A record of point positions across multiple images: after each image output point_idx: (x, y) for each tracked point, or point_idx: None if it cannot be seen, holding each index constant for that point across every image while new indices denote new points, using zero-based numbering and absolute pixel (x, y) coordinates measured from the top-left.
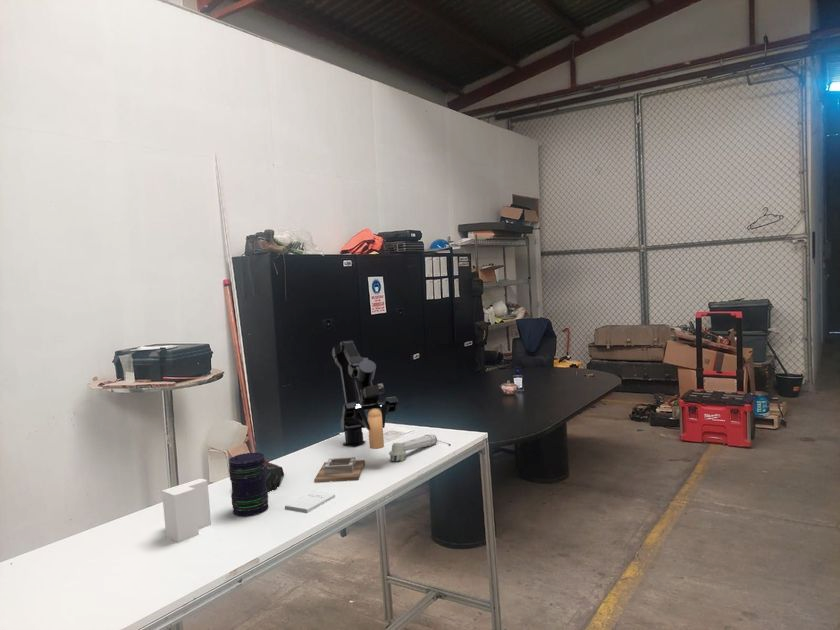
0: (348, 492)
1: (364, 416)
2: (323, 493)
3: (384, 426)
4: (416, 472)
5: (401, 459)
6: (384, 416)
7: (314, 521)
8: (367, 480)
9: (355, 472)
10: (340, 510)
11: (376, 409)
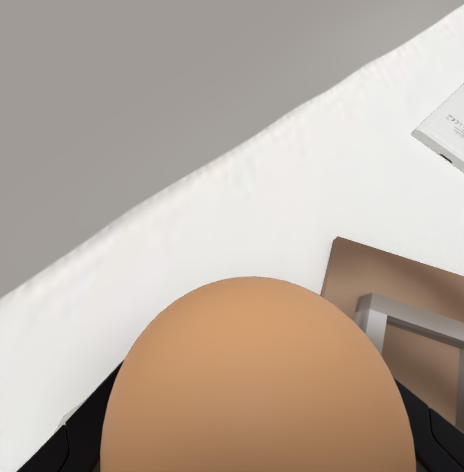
0: (372, 150)
1: (454, 460)
2: (452, 144)
3: None
4: (122, 217)
5: None
6: (74, 425)
7: (448, 32)
8: (303, 221)
9: (344, 293)
10: (393, 57)
11: (217, 376)
